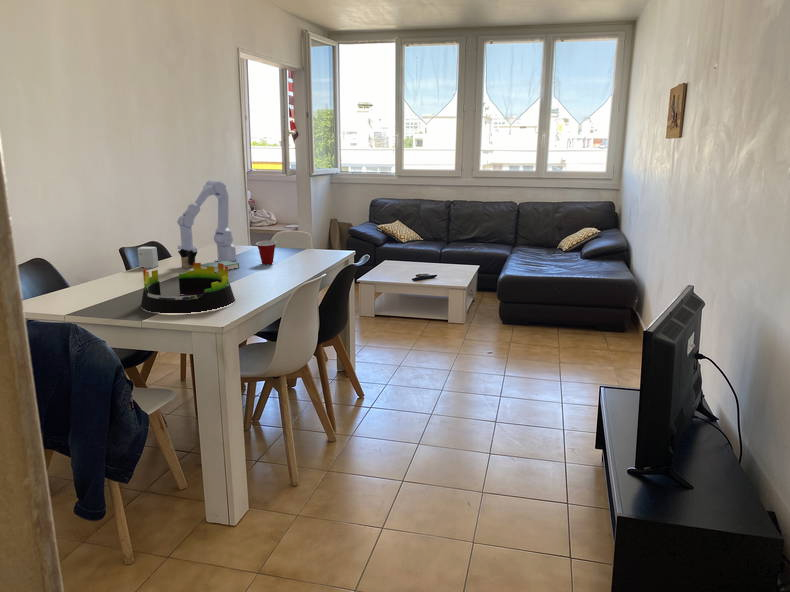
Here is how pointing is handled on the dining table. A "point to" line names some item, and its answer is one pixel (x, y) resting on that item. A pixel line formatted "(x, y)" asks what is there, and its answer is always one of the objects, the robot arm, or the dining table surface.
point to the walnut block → (186, 262)
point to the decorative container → (189, 291)
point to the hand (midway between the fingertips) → (188, 264)
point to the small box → (147, 257)
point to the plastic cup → (266, 251)
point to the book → (226, 263)
